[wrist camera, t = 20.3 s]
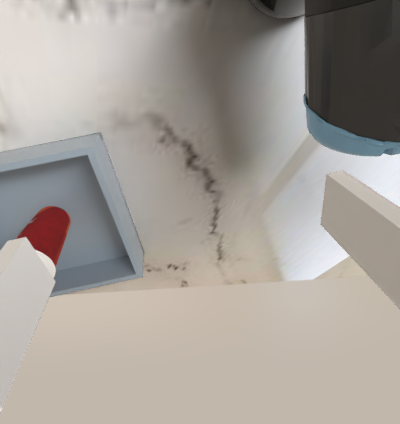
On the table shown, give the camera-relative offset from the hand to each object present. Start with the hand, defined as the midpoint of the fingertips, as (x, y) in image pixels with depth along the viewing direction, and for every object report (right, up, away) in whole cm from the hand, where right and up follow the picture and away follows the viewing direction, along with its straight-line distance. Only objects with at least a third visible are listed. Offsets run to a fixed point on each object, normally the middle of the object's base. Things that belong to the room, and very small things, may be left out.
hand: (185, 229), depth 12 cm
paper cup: (-26, 0, +36) cm, 45 cm away
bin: (-26, 0, +37) cm, 45 cm away
